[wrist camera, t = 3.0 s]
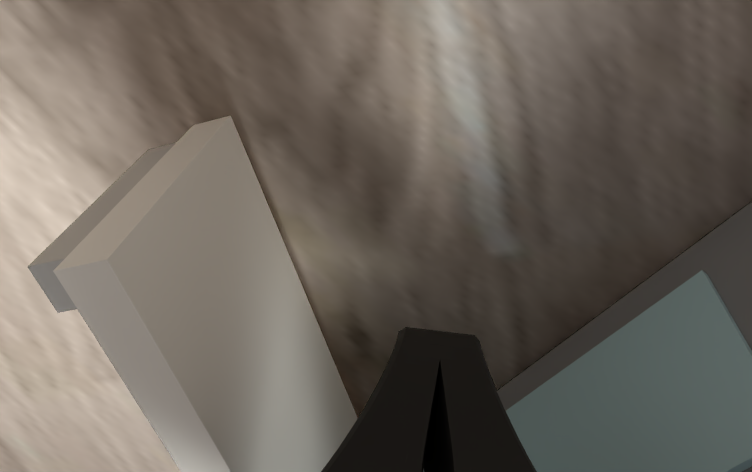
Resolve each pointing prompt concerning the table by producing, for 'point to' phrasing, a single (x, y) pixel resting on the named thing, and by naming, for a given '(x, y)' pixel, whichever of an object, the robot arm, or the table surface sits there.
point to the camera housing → (652, 373)
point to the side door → (203, 310)
